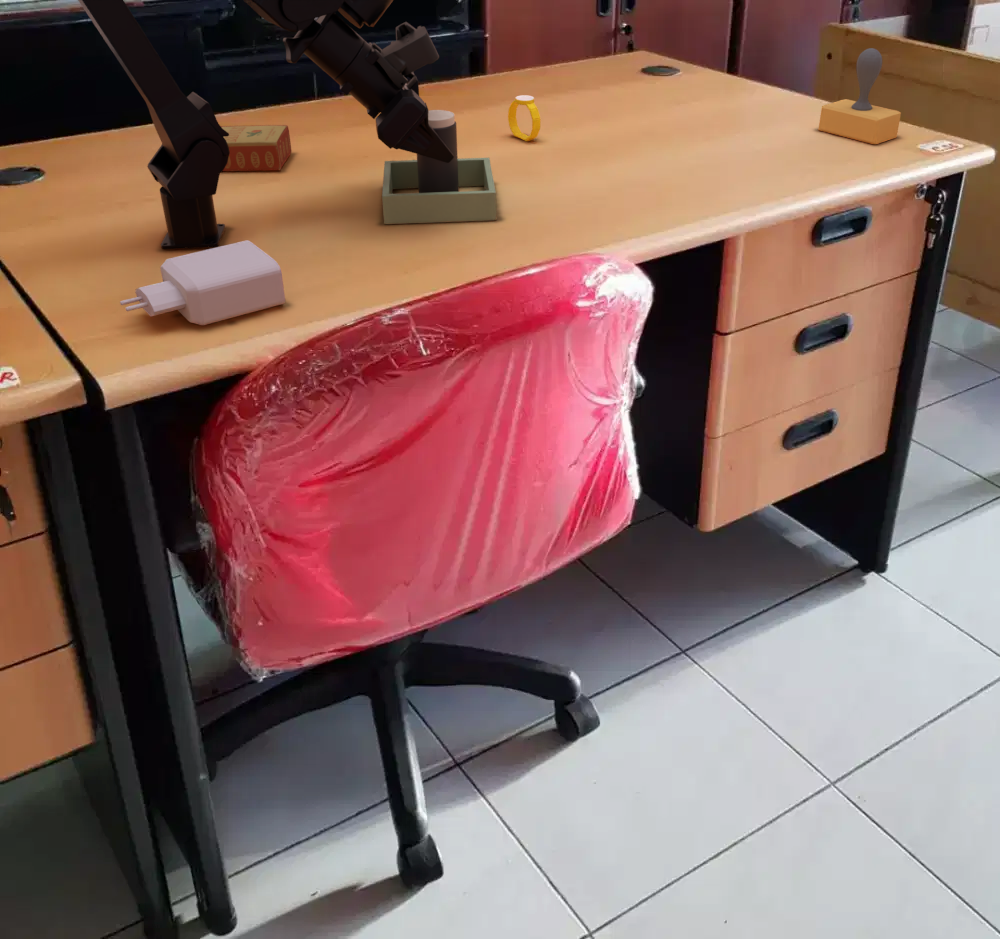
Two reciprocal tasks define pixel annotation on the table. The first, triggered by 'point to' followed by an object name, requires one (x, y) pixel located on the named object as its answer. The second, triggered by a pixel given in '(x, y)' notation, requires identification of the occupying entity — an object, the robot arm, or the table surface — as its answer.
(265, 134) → the carton
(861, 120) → the rubber stamp
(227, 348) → the table surface
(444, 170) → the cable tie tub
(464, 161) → the box
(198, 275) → the charger
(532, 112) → the watch
